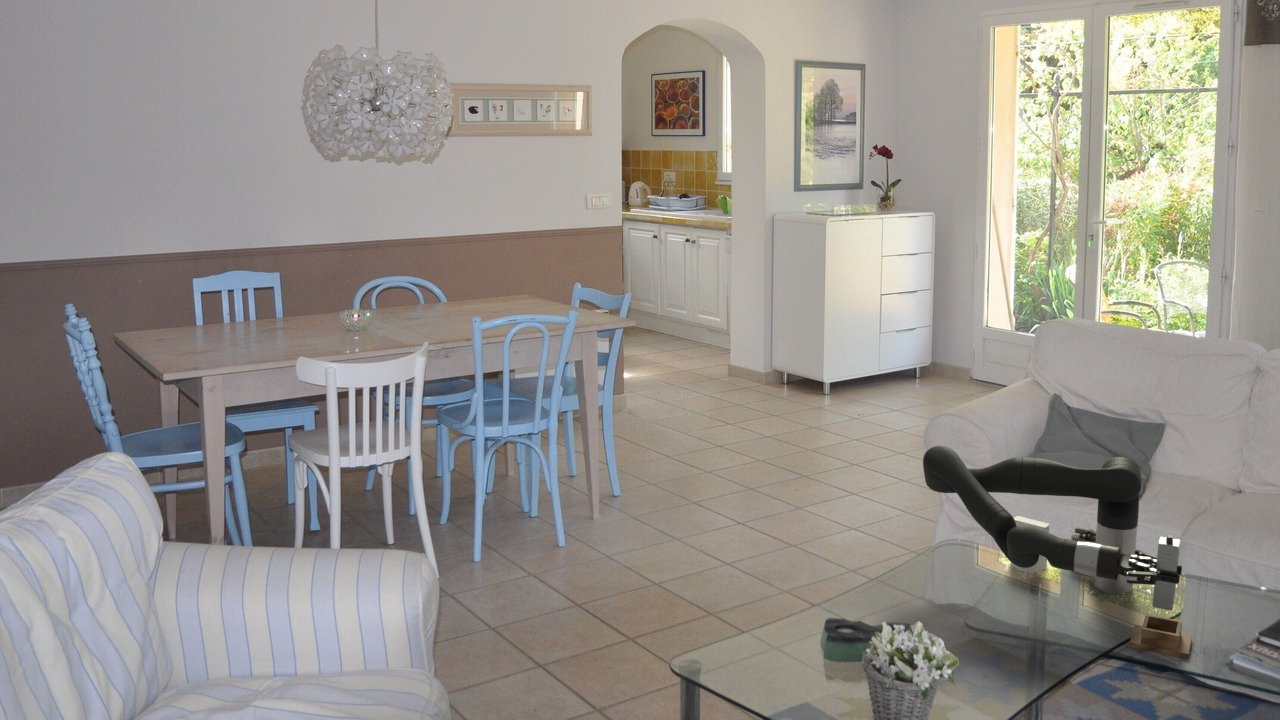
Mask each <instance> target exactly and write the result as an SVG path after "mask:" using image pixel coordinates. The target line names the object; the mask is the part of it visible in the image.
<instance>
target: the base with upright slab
mask: <svg viewBox="0 0 1280 720" xmlns="http://www.w3.org/2000/svg"><path fill="white" fill-rule="evenodd" d="M1013 518H1014V520H1015V523H1016V525H1017V526H1030V527H1034V528H1037V529H1040V530H1042V531H1045V532H1047V533H1050V523H1047V522H1045V521H1039V520H1036V519H1032V518H1028V517H1025V516H1021V515H1017V516H1015V517H1013ZM1010 564H1011V566H1012V567H1013V568H1016V569H1018V570H1021V571H1023V572H1024V571H1025V572H1041V571H1043V570H1046V568H1047V567H1048V560H1047V559H1046V558H1045V557H1043V556H1041V555H1039V559H1038V561H1037V563H1036V564H1035V565H1034V566H1032V567H1029V568H1022V567H1018V566H1016V565H1014V564H1013V563H1012V562H1011V561H1010Z"/></svg>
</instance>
